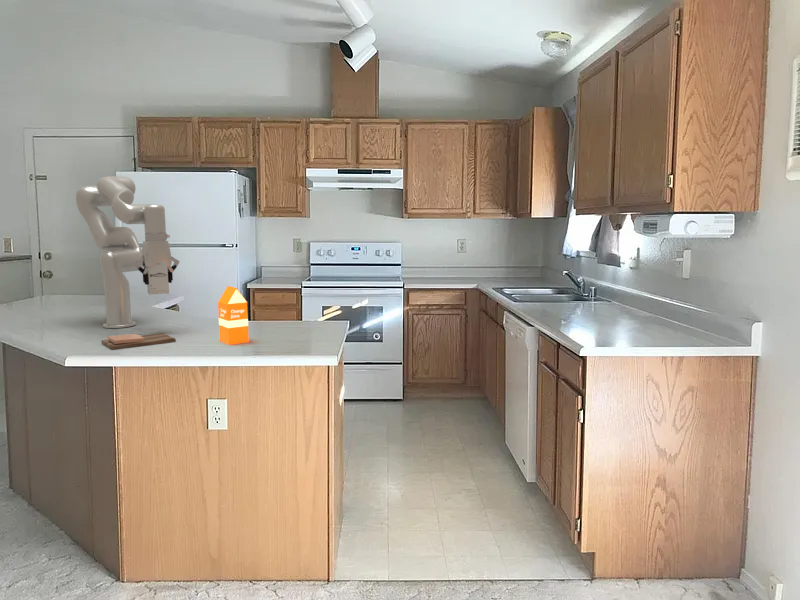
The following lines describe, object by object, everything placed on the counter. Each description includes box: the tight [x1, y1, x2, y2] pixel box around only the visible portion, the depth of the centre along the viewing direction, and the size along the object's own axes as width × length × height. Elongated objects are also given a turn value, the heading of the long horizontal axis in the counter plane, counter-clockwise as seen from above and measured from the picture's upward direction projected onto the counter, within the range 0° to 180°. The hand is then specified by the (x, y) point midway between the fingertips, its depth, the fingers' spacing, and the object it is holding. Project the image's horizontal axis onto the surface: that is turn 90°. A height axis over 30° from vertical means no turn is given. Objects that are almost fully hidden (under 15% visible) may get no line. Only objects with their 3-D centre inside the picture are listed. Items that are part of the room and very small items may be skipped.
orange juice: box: [217, 285, 250, 346], centre depth 243 cm, size 8×9×20 cm
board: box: [100, 332, 176, 351], centre depth 243 cm, size 14×22×1 cm, turn 127°
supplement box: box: [146, 261, 170, 296], centre depth 258 cm, size 7×7×13 cm
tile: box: [107, 333, 145, 344], centre depth 241 cm, size 10×10×1 cm
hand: (158, 283), depth 257 cm, fingers closed on supplement box, 8 cm apart
